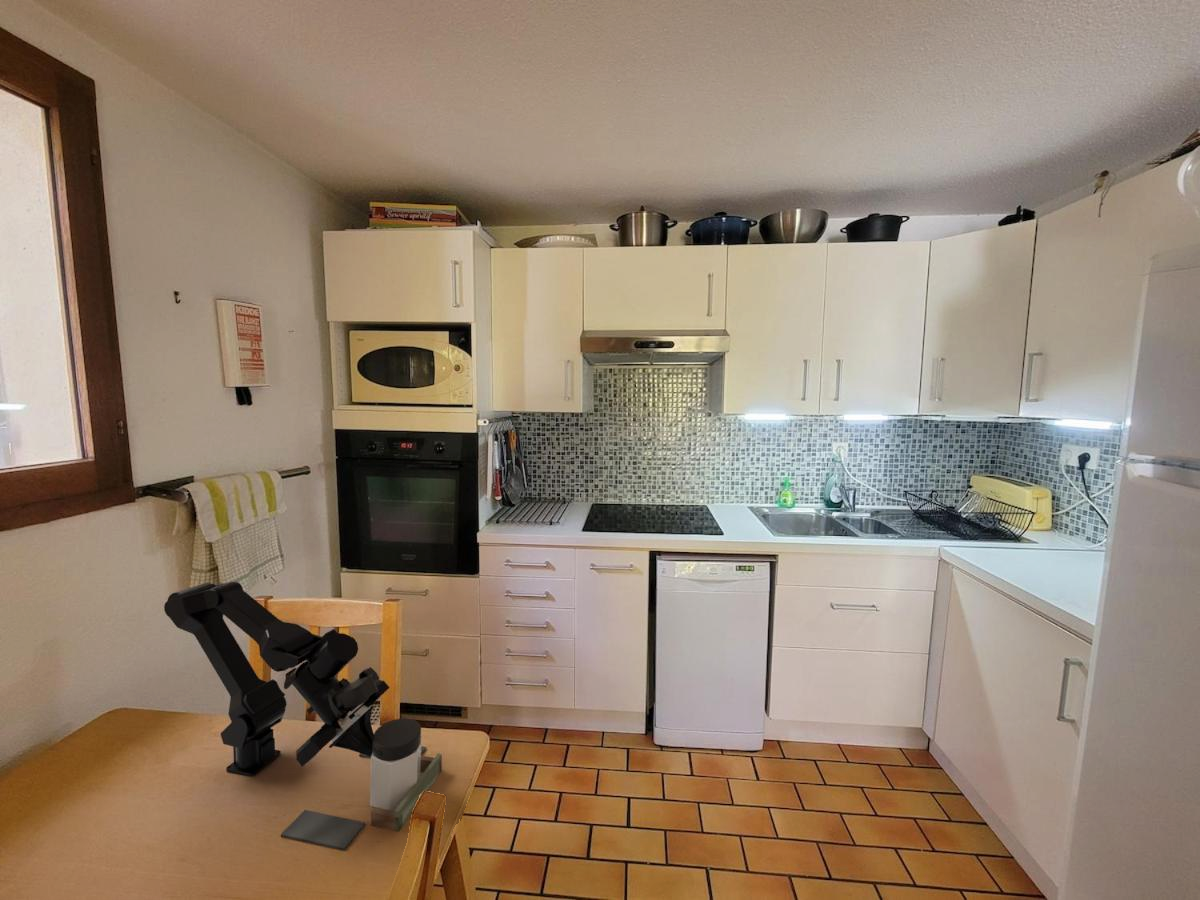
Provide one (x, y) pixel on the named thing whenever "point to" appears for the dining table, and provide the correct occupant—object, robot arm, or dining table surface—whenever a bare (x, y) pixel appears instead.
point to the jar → (394, 762)
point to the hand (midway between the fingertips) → (375, 754)
